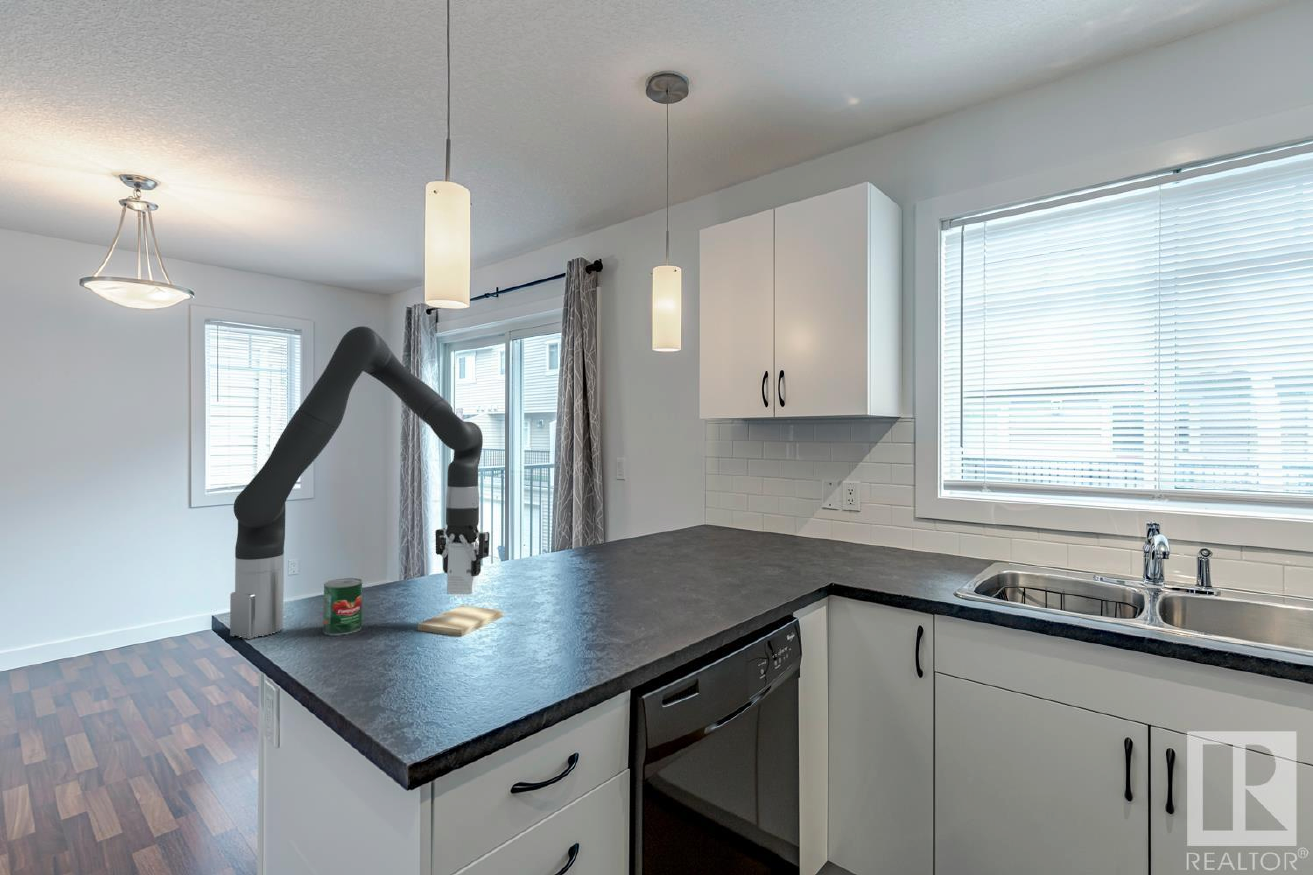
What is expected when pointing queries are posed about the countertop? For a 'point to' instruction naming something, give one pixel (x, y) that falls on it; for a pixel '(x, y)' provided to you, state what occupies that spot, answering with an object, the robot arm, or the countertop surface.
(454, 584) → the skincare box
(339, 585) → the canned tomato
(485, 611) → the birch board
